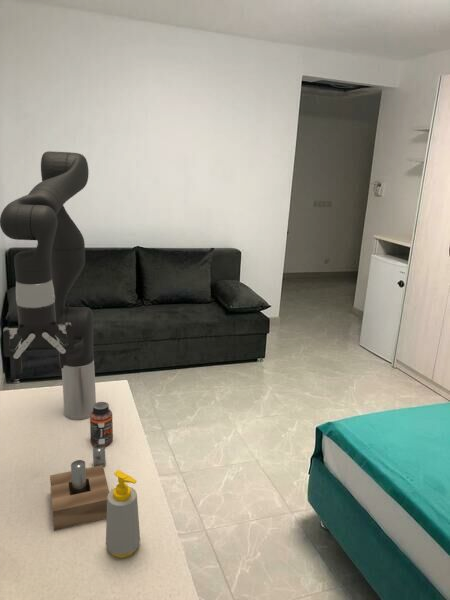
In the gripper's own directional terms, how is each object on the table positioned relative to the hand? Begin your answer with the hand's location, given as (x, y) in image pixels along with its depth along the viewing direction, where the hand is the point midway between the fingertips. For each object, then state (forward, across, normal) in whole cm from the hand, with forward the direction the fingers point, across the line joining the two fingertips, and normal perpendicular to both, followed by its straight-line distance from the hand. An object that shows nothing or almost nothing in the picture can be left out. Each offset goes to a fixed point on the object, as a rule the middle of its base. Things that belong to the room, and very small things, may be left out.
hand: (41, 369), depth 108 cm
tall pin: (+30, -6, +10) cm, 32 cm away
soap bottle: (+30, -13, +25) cm, 41 cm away
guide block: (+30, -6, +10) cm, 32 cm away
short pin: (+30, -12, -3) cm, 33 cm away
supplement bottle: (+30, -14, -13) cm, 36 cm away
